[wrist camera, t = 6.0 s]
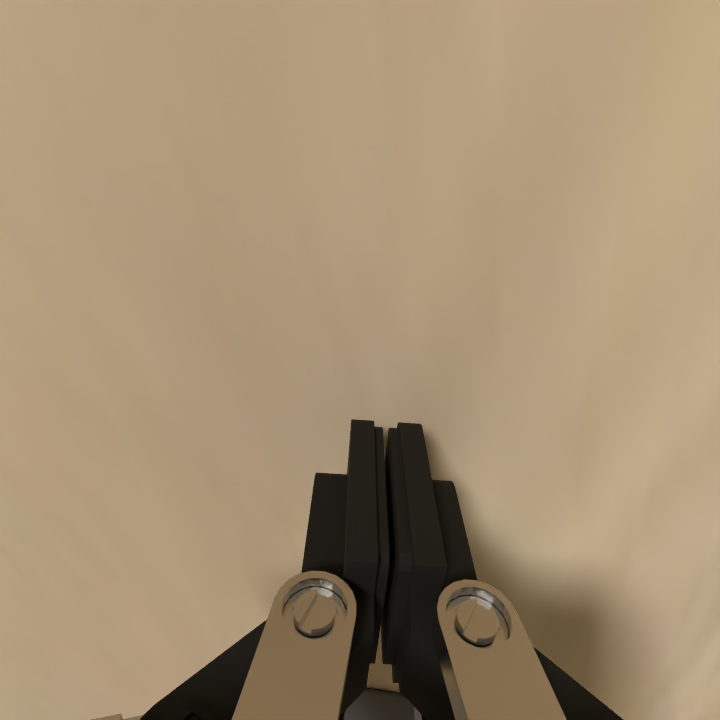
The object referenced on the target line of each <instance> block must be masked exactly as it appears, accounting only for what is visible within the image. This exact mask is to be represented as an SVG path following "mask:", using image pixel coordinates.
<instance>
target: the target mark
mask: <svg viewBox="0 0 720 720" xmlns="http://www.w3.org/2000/svg"><path fill="white" fill-rule="evenodd" d="M345 720H415V717H414V706H413V705H412V704H411V703H410V702H409V701H408V700H407V698H406V697H405V696H404V695H402V694H398V693H393V692H387V691H381V690H375V689H366V690H365V691H364V692H363V693H362V694H361V695H360V696H359V697H358V698H357V699H356V700H355V701H354V702H353V703H352V704H351V705H350V706H349V707H348V708H347V709H346V713H345Z"/></svg>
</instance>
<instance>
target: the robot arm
mask: <svg viewBox="0 0 720 720" xmlns="http://www.w3.org/2000/svg"><path fill="white" fill-rule="evenodd" d="M380 626H381V638H382V661H383V664H392V674H393V683H399V688H400V692H401V693H402V694H403V695H404V696H405V697H406V698H407V700H408V701H409V702H410V703H411V704H412V705H413V706H414V717H415V720H623V719H622V718H620V717H619V716H618V715H617V714H616V713H614V712H613V711H612V710H611V709H609V708H608V707H607V706H606V705H604V704H603V703H602V702H601V701H600V700H598V699H597V698H596V697H595V696H593V695H592V694H591V693H590V692H588V691H587V690H586V689H585V688H584V687H582V686H581V685H580V684H579V683H577V682H576V681H575V680H574V679H572V678H571V677H570V676H569V675H568V674H566V673H565V672H564V671H563V670H561V669H560V668H559V667H558V666H556V665H555V664H554V663H553V662H552V661H550V660H549V659H548V658H547V657H545V656H544V655H543V654H542V653H540V652H539V651H538V650H537V649H536V648H534V647H533V645H532V643H531V641H530V639H529V637H528V634H527V632H526V630H525V628H524V626H523V623H522V621H521V619H520V617H519V615H518V613H517V611H516V609H515V608H514V606H513V605H512V603H511V601H510V600H509V599H508V598H507V597H506V596H505V595H504V594H503V593H502V592H501V591H499V590H498V589H496V588H494V587H493V586H491V585H489V584H487V583H484V582H481V581H478V580H477V578H476V573H475V569H474V565H473V561H472V557H471V553H470V548H469V544H468V540H467V536H466V532H465V527H464V523H463V519H462V515H461V511H460V506H459V502H458V498H457V494H456V490H455V486H454V484H453V482H452V481H440V480H432V479H431V473H430V468H429V462H428V457H427V451H426V446H425V440H424V434H423V429H422V425H421V424H414V423H398V425H397V428H389V431H388V439H387V447H386V455H385V462H384V444H383V428H382V427H374V421H368V420H353V419H352V420H351V432H350V445H349V458H348V470H347V475H344V474H328V473H316V474H315V479H314V487H313V494H312V501H311V508H310V515H309V523H308V530H307V537H306V544H305V552H304V559H303V566H302V573H300V574H298V575H296V576H294V577H293V578H291V579H289V580H288V581H287V582H286V583H285V584H284V585H283V586H282V587H281V588H280V590H279V591H278V593H277V595H276V597H275V599H274V602H273V604H272V607H271V610H270V613H269V616H268V619H267V620H266V621H264V622H263V623H262V624H260V625H259V626H258V627H256V628H255V629H254V630H252V631H251V632H250V633H248V634H247V635H246V636H244V637H243V638H242V639H241V640H239V641H238V642H237V643H235V644H234V645H233V646H231V647H230V648H229V649H227V650H226V651H225V652H223V653H222V654H221V655H219V656H218V657H217V658H215V659H214V660H213V661H212V662H210V663H209V664H208V665H206V666H205V667H204V668H202V669H201V670H200V671H198V672H197V673H196V674H194V675H193V676H192V677H190V678H189V679H188V680H186V681H185V682H184V683H183V684H181V685H180V686H179V687H177V688H176V689H175V690H173V691H172V692H171V693H169V694H168V695H167V696H165V697H164V698H163V699H161V700H160V701H159V702H157V703H156V704H155V705H154V706H153V707H152V708H151V709H150V710H149V711H147V712H146V713H145V714H144V715H141V716H136V717H131V718H127V719H123V718H122V715H121V714H117V715H112V716H107V717H102V718H97V719H92V720H345V713H346V709H347V708H348V707H349V706H350V705H351V704H352V703H353V702H354V701H355V700H356V699H357V698H358V697H359V696H360V695H361V694H362V693H363V692H364V691H365V690H366V685H367V678H368V671H369V664H370V663H375V659H376V652H377V645H378V639H379V632H380Z"/></svg>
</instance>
